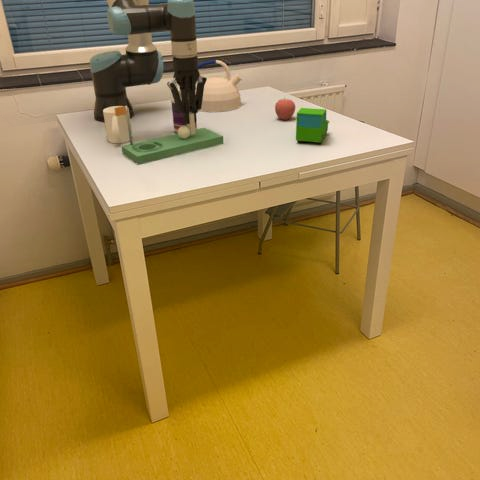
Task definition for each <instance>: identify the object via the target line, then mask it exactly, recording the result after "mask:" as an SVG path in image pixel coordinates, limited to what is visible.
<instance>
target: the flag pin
mask: <svg viewBox="0 0 480 480" xmlns="http://www.w3.org/2000/svg"><path fill="white" fill-rule="evenodd" d="M114 109H115V115H116V116H121V115H126V119H127V126H128V132H129V139H130V141H129V144H130V145H133V143H134V141H133V139H132V136H133V134H132V135H131V129H132V127H131V128H130V122H131V120H130V121H129V114H128V107H127V106H123V107H117V108H114Z"/></svg>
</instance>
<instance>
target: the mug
mask: <svg viewBox="0 0 480 480" xmlns="http://www.w3.org/2000/svg"><path fill="white" fill-rule="evenodd" d="M117 107H123V106H113V107H108V108H105V109H104V110H103V114H104V120H105V122H104V126H105V131H106V138H107V142H108V143H112V144H125V143H128V142H130V139H129V132H128V126H127V119H126V115H121V116H116V115H115V109H114V108H117ZM128 114H129V108H128ZM129 121H130V128H131V135H132V140H134V139H133V138H134V137H133V129H132V124H131V123H132V122H131V118H130V115H129Z"/></svg>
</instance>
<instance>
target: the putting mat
mask: <svg viewBox="0 0 480 480" xmlns="http://www.w3.org/2000/svg"><path fill="white" fill-rule="evenodd" d="M195 133H196V134H190V135H189V137H188V138H186V139H183V138H180V137H179V135H178V132H176V133H173V134H169V135H164V136H160V137H159V136H158V137H155V138H150V139H146V140H142V141H137V142H133V145H130V143H127V144H123V145H121V152H122V154H123V155H124V156H125V157H126V158H128V159H129V160H131V161H132V162H134V163H135V164H137V165H142V164H147V163H151V162H154V161H158V160H162V159H167V158H171V157H175V156H179V155H183V154H187V153H191V152H195V151H199V150H203V149H207V148H211V147H214V146H219V145H223V144H224V135H222V134H219V133H218V132H215V131H213V130H211V129H210V128H206V127H199V128H197V129H195Z"/></svg>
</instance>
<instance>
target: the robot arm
mask: <svg viewBox="0 0 480 480" xmlns="http://www.w3.org/2000/svg"><path fill="white" fill-rule="evenodd" d="M149 2H150V1H149V0H106V3H107V5H108V7H109V8H108V9H107V11H106V17H107V19H106V20H107V24H108V28H109V30H110V32H111V34H113V35H115V36H127V38H128V45H127V46H125V49H124V50H125V54H122V53H121V51H119V50H113V51H111V50H109V51H103V52H101V53H97V54H95V55H93V56H92V57H91V58H90V59H89V65H90V66H89V68H90V70H89V71H90V74H91V79H92V85H93V90H94V97H95V99H94V100H95V101H94V108H93V117H94V120H95V121H98V122H104V123H105V120H104V114H103V110H104V109H105V108H108V107H113V106H127V107H128V108H129V115H130V119H132V118H133V117H134V116H135V111H134V108H133V106H132V104H131V101H130V99H129V98H128V95H127V88H128V87H131V88H132V87H140V86H145V85H148V86H149V85H152V84H158V83H160V82H161V80H162V78H163V75H164V61H163V56H162V53H161V52H160V51H159V50H157V46H156V45H155V44H154V43H153V37H152V34H153V33H162V32H169V33H170V34H169V36H170V43H171V44H170V46H171V55H172V56H173V57H172V65H173V66H172V67H173V72H174V73H173V78H172V80H171V81H167V83H166V85H167V87H168V88H169V89H170V91H171V92H170V93H171V94H172V97H173V98H174V101H175V105H176V108H177V111H178V112H181V113H183V114H184V122H185V124H187V127H188V128H189V129H190V134H196V133H195V122H196V123H197V122H198V121H197V114H198V113H199V111H198V110H200V109H201V107H202V99H203V92H204V85H205V83H206V81H207V78H208V77H205V76H203V75H201V73H200V71H199V69H198V65H199V57H198V56H197V54H198V44H197V43H198V42H197V27H196V10H195V2H194V0H167V2H162V3H159V4H150V3H149ZM178 87H179V88H180V91H181V98H180V95H179V92H178V89H177V88H178ZM195 90H196V95H195ZM188 97H189V98H188ZM181 100H182V101H181ZM189 109H190V110H189Z"/></svg>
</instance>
